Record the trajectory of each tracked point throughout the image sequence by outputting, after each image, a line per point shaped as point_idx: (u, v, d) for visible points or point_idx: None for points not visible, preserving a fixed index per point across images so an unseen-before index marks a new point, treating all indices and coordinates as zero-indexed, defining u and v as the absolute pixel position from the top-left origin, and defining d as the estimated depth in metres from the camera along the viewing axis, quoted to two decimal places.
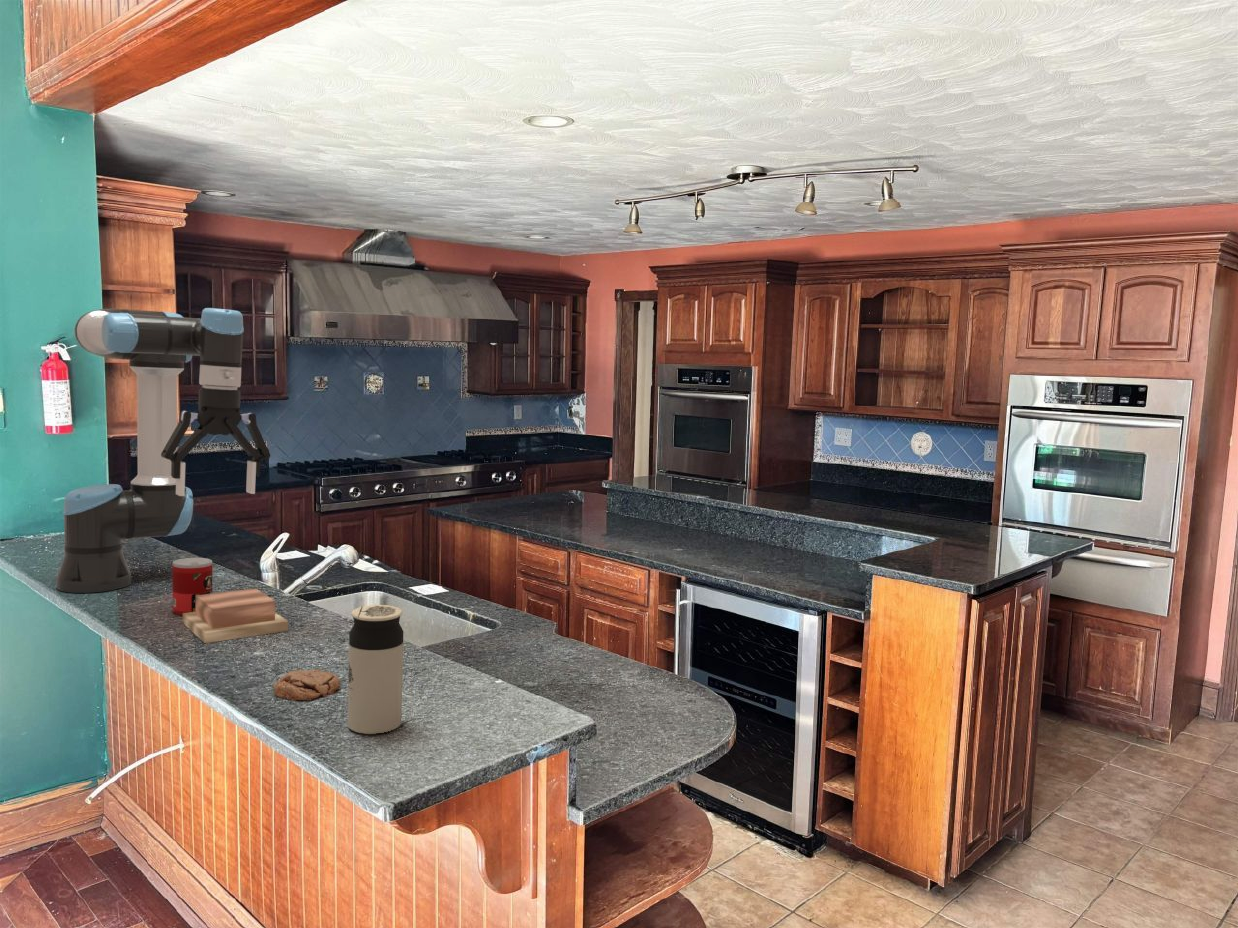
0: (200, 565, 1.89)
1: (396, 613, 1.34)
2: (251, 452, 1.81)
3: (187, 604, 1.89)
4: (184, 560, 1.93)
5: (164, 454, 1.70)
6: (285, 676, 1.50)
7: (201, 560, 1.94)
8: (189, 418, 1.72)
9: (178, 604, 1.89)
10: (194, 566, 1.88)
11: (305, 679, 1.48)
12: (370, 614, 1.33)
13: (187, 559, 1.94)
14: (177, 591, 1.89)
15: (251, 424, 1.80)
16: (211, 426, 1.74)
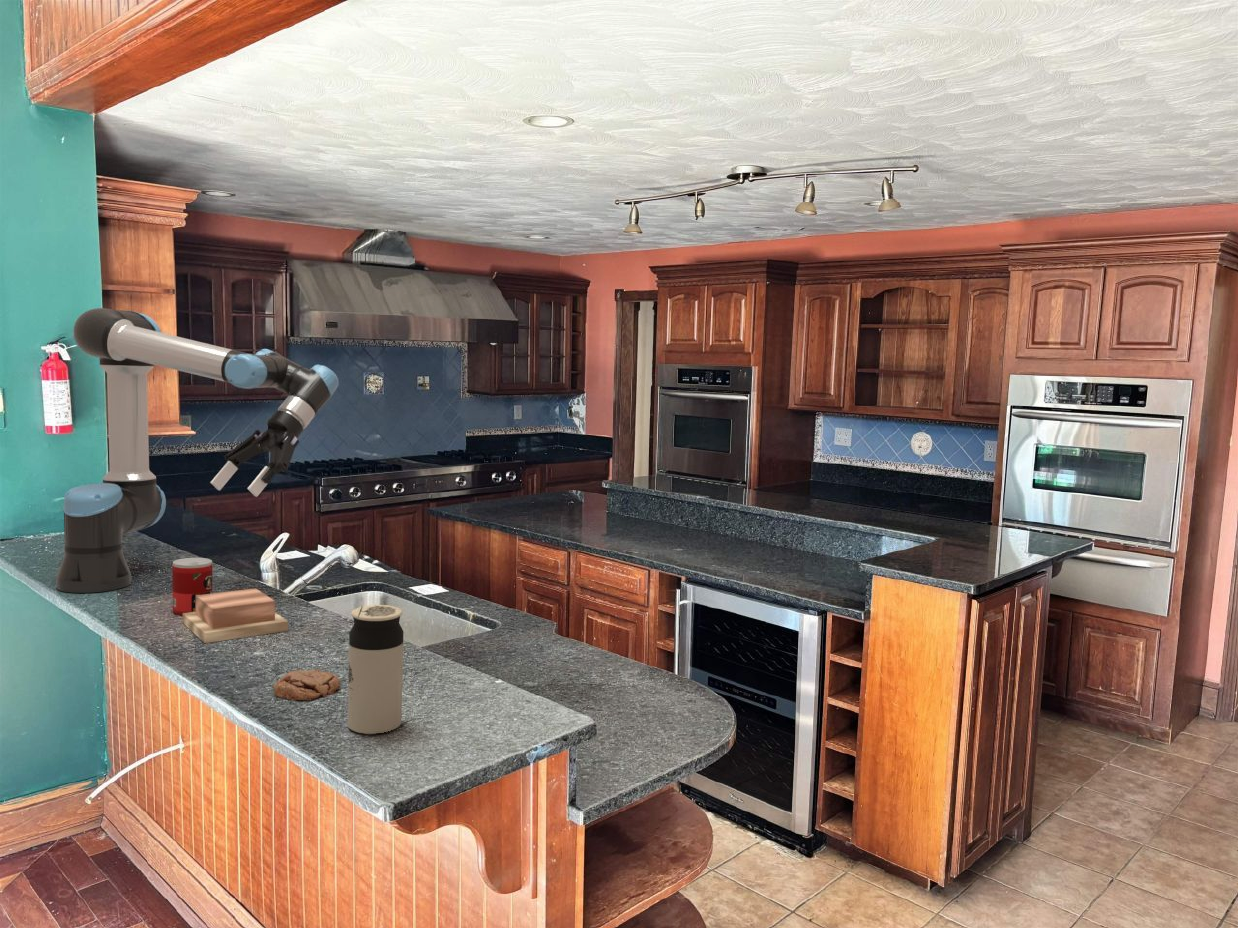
0: (200, 565, 1.89)
1: (396, 613, 1.35)
2: None
3: (187, 604, 1.89)
4: (184, 560, 1.93)
5: (285, 468, 1.97)
6: (285, 676, 1.50)
7: (201, 560, 1.94)
8: None
9: (178, 604, 1.89)
10: (194, 566, 1.88)
11: (305, 680, 1.48)
12: (370, 614, 1.33)
13: (187, 559, 1.94)
14: (177, 591, 1.89)
15: (259, 443, 2.09)
16: None
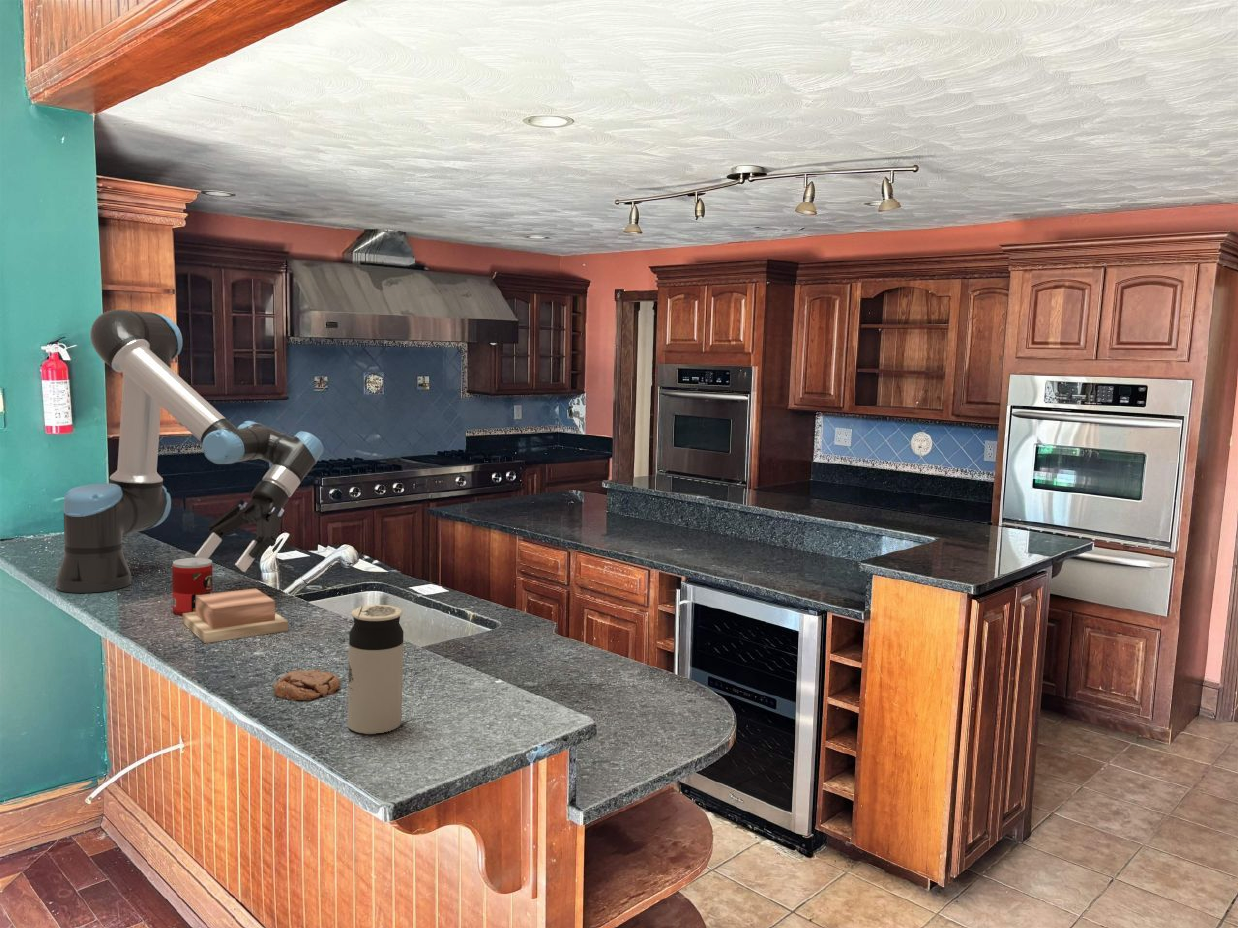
0: (200, 565, 1.89)
1: (396, 613, 1.35)
2: None
3: (187, 604, 1.89)
4: (184, 560, 1.93)
5: (273, 542, 1.95)
6: (285, 676, 1.50)
7: (201, 560, 1.94)
8: None
9: (178, 604, 1.89)
10: (194, 566, 1.88)
11: (305, 680, 1.48)
12: (370, 614, 1.33)
13: (187, 559, 1.94)
14: (177, 591, 1.89)
15: None
16: None
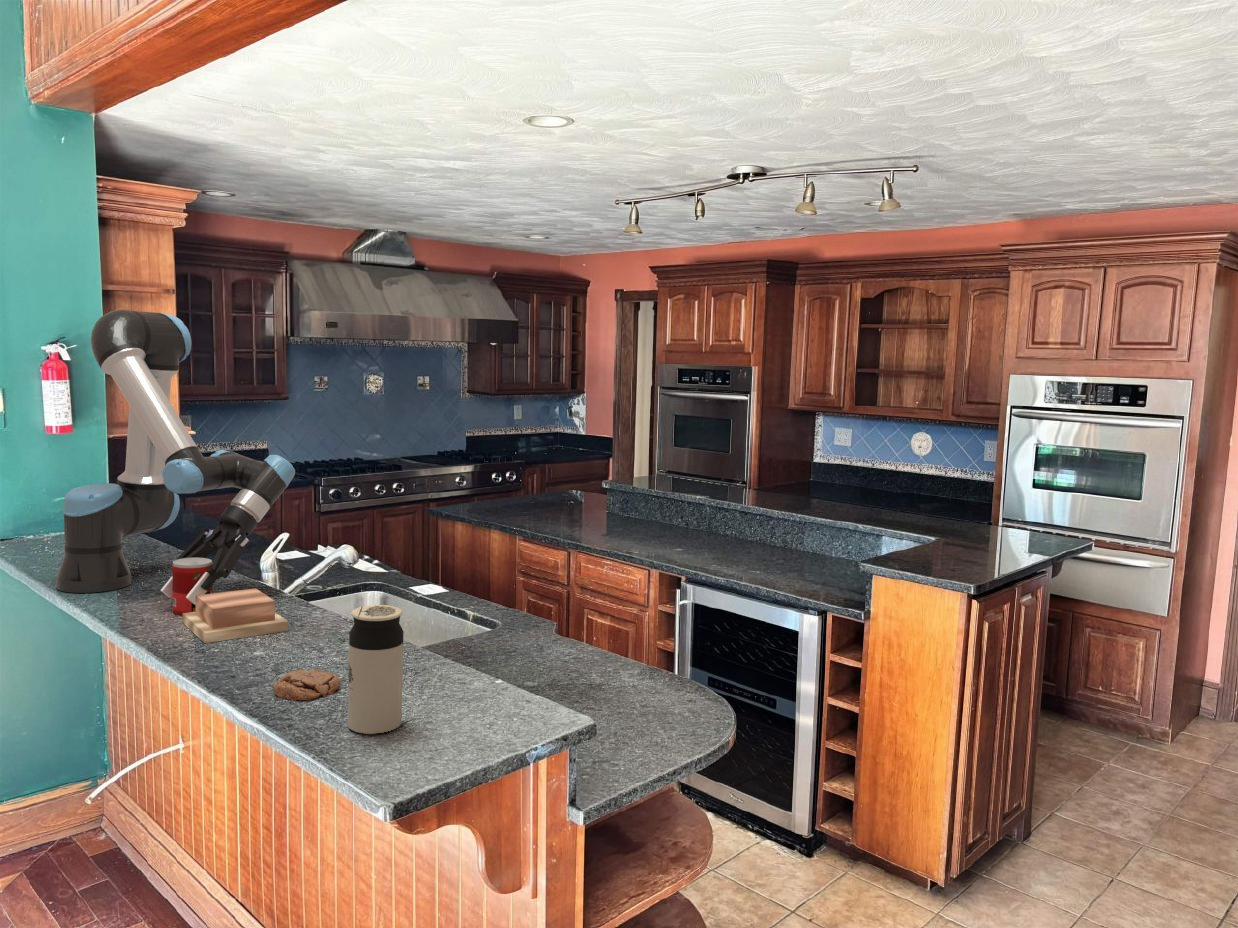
0: (200, 565, 1.89)
1: (396, 613, 1.35)
2: None
3: (187, 604, 1.89)
4: (184, 560, 1.93)
5: (226, 573, 1.90)
6: (285, 676, 1.50)
7: (201, 560, 1.94)
8: None
9: (178, 604, 1.89)
10: (194, 566, 1.88)
11: (305, 679, 1.48)
12: (370, 614, 1.33)
13: (187, 559, 1.94)
14: (177, 591, 1.89)
15: None
16: None
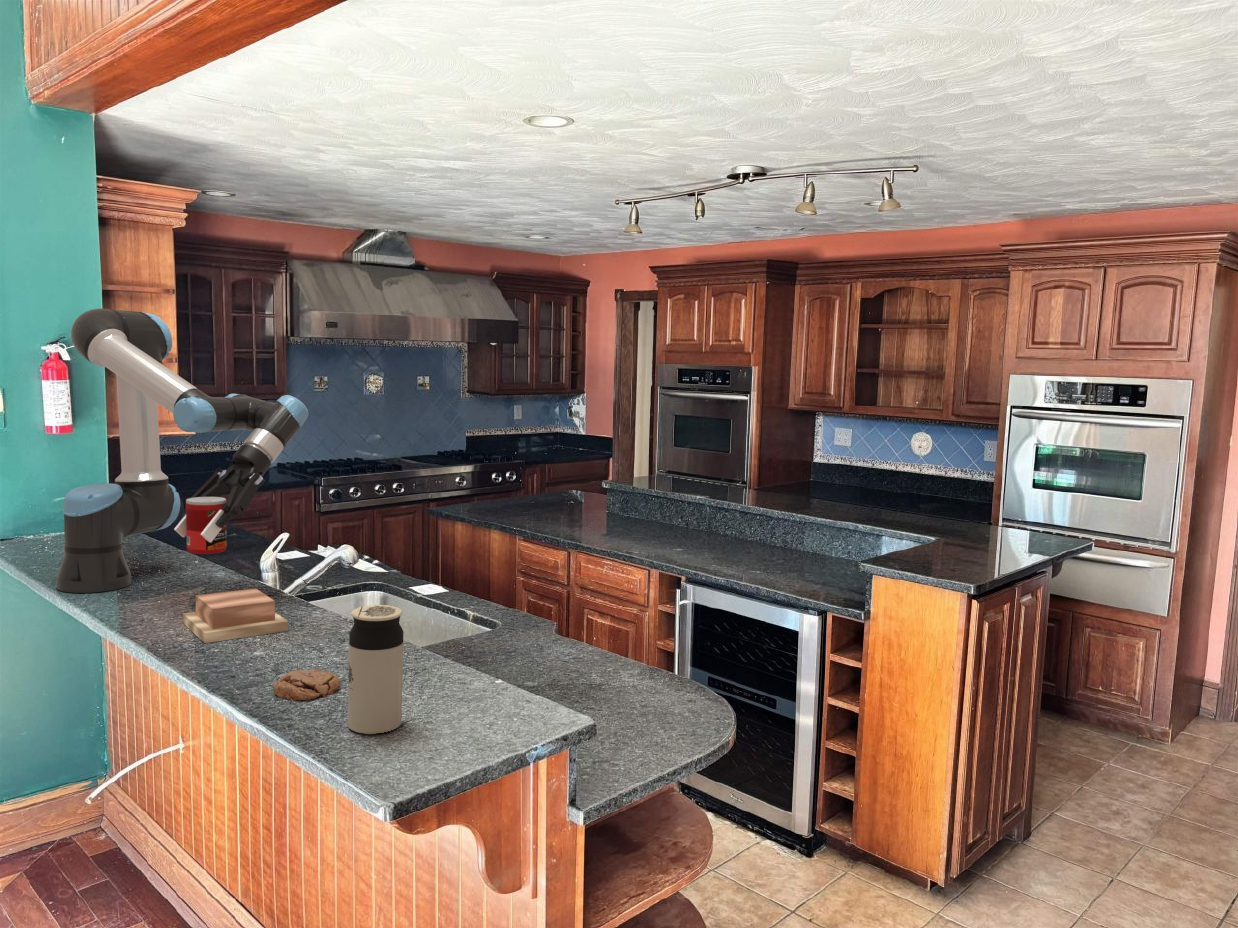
0: (214, 502, 1.85)
1: (396, 613, 1.34)
2: None
3: (202, 542, 1.85)
4: (197, 499, 1.89)
5: (241, 511, 1.86)
6: (285, 676, 1.50)
7: (215, 499, 1.90)
8: None
9: (193, 542, 1.85)
10: (208, 503, 1.84)
11: (305, 679, 1.48)
12: (370, 614, 1.33)
13: (200, 498, 1.90)
14: (191, 529, 1.85)
15: (222, 482, 1.97)
16: None
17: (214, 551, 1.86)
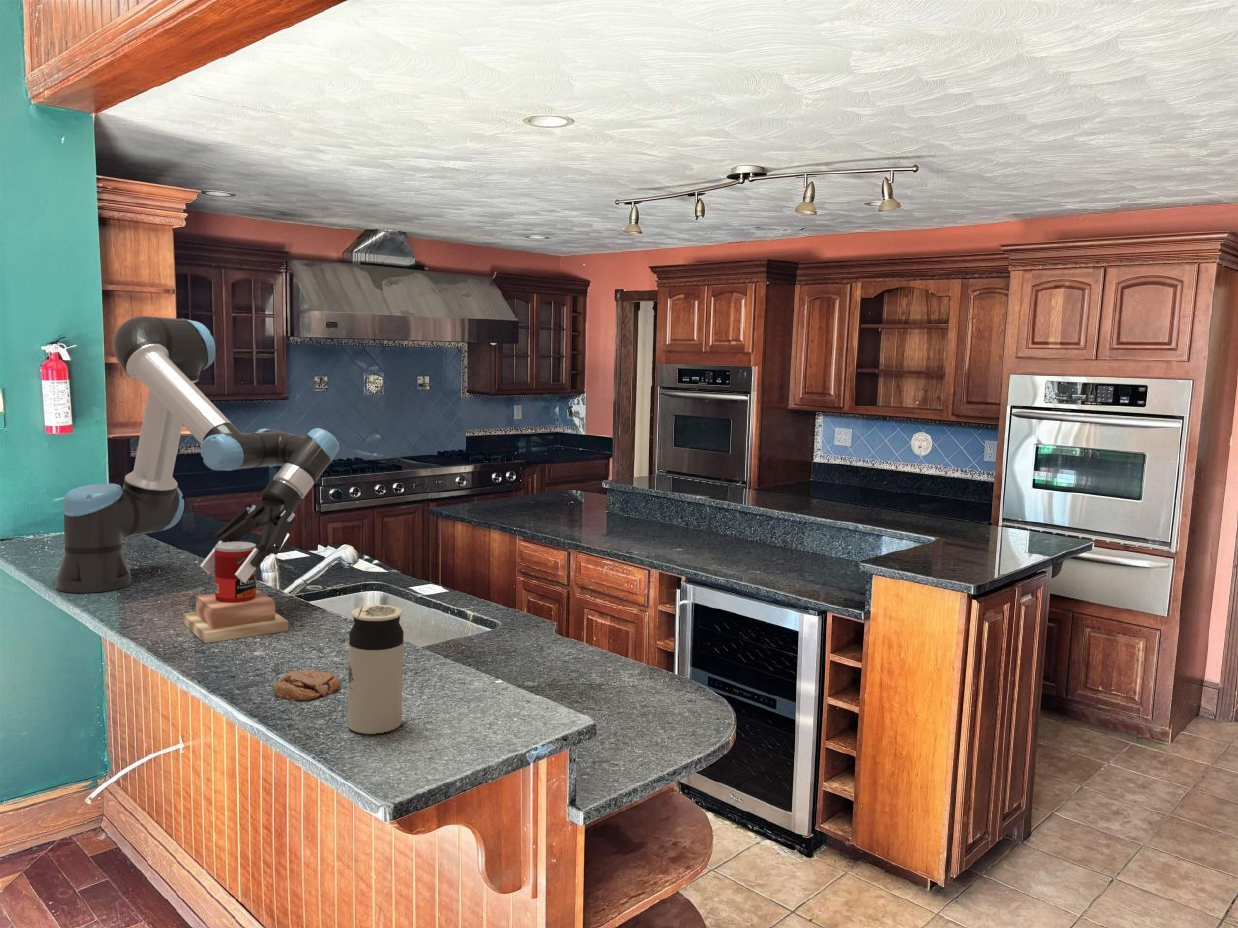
0: (244, 549, 1.79)
1: (396, 613, 1.35)
2: None
3: (231, 590, 1.78)
4: (226, 544, 1.83)
5: (277, 550, 1.80)
6: (285, 676, 1.50)
7: (244, 544, 1.84)
8: None
9: (221, 590, 1.79)
10: (238, 550, 1.78)
11: (305, 680, 1.48)
12: (370, 614, 1.33)
13: (229, 543, 1.84)
14: (220, 576, 1.78)
15: None
16: None
17: (243, 599, 1.80)
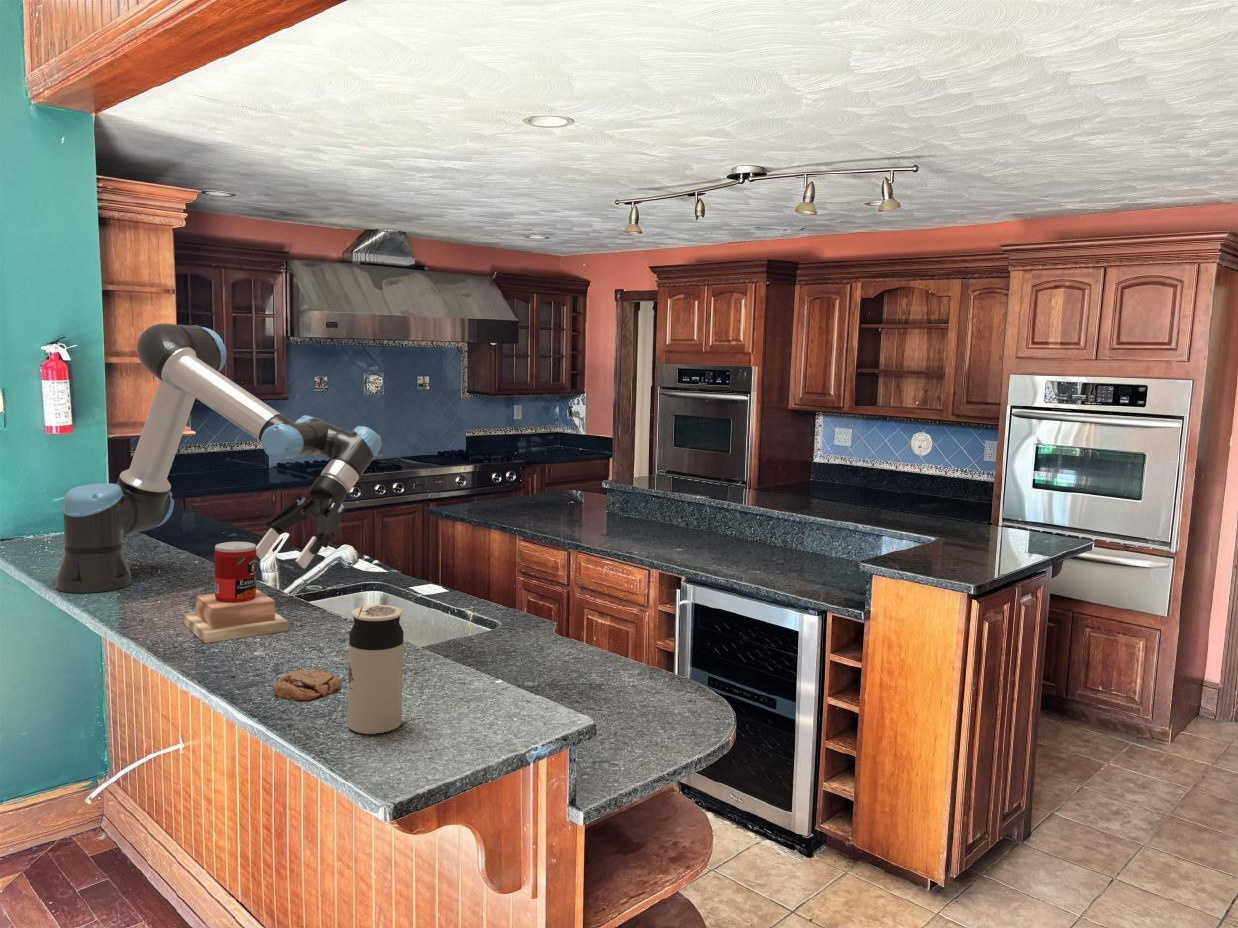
0: (244, 549, 1.79)
1: (396, 613, 1.35)
2: None
3: (231, 590, 1.78)
4: (226, 544, 1.83)
5: (334, 538, 1.91)
6: (285, 676, 1.50)
7: (244, 544, 1.84)
8: None
9: (221, 590, 1.79)
10: (238, 550, 1.78)
11: (305, 679, 1.48)
12: (370, 614, 1.33)
13: (229, 543, 1.84)
14: (220, 576, 1.78)
15: None
16: None
17: (243, 599, 1.80)
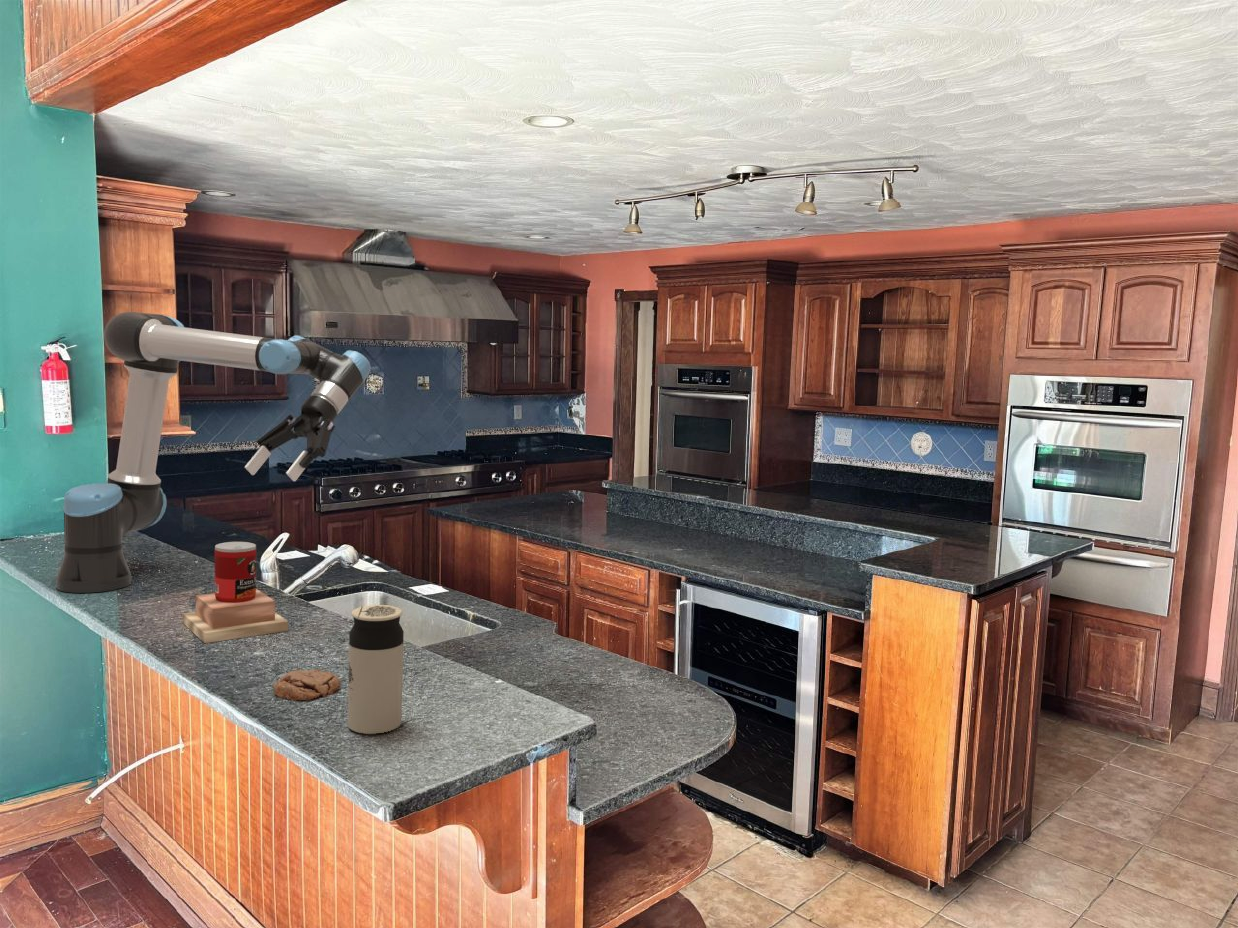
0: (244, 549, 1.79)
1: (396, 613, 1.35)
2: None
3: (231, 590, 1.78)
4: (226, 544, 1.83)
5: (323, 453, 1.96)
6: (285, 676, 1.50)
7: (244, 544, 1.84)
8: None
9: (221, 590, 1.79)
10: (238, 550, 1.78)
11: (305, 679, 1.48)
12: (370, 614, 1.33)
13: (229, 543, 1.84)
14: (220, 576, 1.78)
15: None
16: None
17: (243, 599, 1.80)
